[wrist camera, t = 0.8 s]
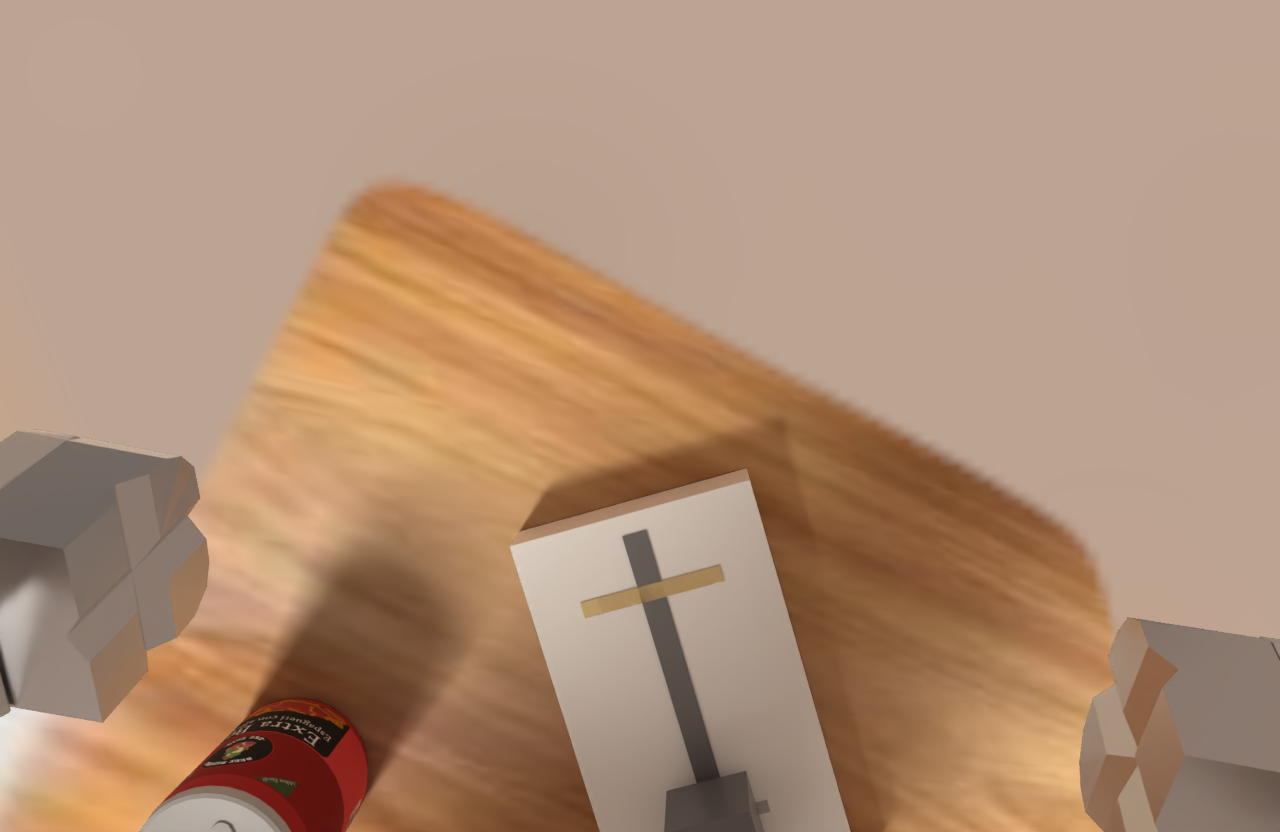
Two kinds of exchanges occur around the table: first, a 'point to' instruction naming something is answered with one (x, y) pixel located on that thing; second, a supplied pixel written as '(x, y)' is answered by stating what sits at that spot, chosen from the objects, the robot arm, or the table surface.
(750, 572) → the slider panel
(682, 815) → the block
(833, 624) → the table surface
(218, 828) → the canned food
